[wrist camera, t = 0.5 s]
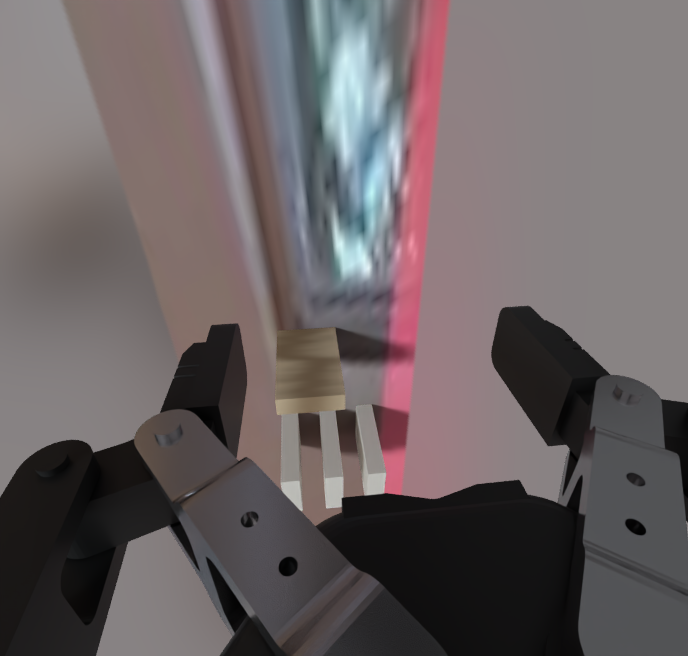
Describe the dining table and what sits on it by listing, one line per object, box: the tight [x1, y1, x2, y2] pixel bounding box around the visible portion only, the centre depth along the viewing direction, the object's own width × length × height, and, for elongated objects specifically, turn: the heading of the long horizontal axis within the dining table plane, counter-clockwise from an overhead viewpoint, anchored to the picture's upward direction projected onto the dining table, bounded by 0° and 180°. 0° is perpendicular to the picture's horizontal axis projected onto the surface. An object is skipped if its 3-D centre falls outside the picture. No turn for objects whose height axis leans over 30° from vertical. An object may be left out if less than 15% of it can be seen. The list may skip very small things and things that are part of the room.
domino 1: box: [281, 413, 303, 511], centre depth 40 cm, size 5×2×8 cm, turn 0°
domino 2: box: [275, 327, 345, 415], centre depth 33 cm, size 5×2×8 cm, turn 90°
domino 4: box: [355, 404, 386, 495], centre depth 41 cm, size 5×2×8 cm, turn 0°
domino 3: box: [319, 410, 343, 509], centre depth 41 cm, size 5×2×8 cm, turn 0°
